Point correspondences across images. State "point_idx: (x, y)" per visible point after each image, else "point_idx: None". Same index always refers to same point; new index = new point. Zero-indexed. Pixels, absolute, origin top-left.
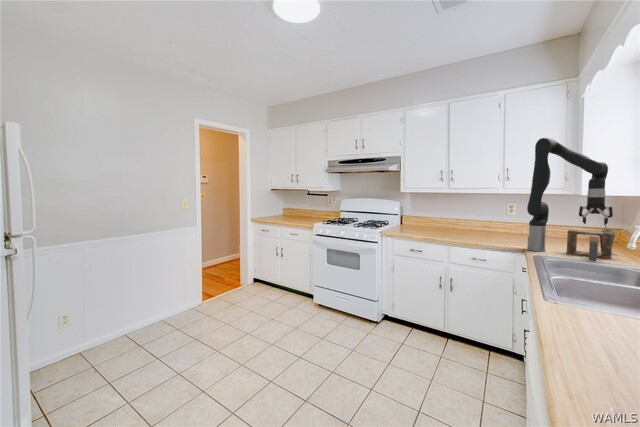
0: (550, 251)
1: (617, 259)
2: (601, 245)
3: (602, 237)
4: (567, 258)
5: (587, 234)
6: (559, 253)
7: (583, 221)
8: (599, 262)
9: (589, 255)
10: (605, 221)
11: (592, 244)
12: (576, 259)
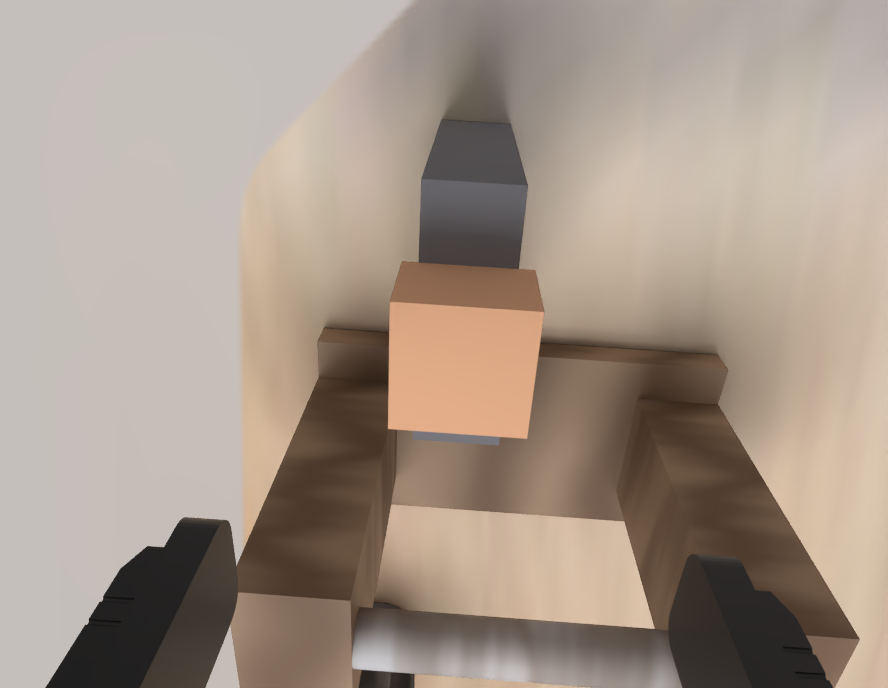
0: (856, 449)
1: (274, 378)
2: (405, 682)
3: (362, 542)
4: (740, 74)
5: (550, 622)
6: (779, 382)
7: (778, 626)
8: (404, 43)
9: (508, 136)
10: (146, 595)
11: (483, 168)
12: (640, 75)
